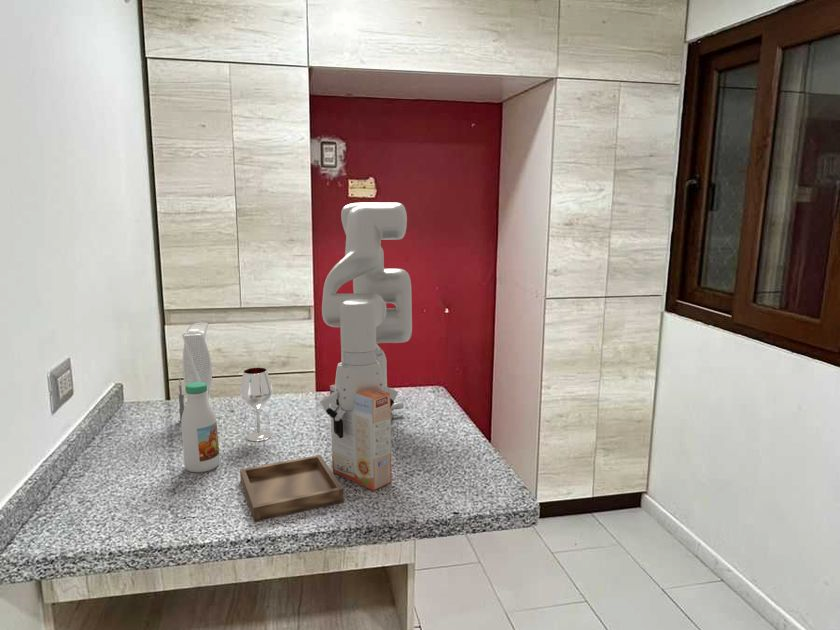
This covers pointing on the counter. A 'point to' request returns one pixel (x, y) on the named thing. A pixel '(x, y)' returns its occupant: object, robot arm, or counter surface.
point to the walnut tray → (290, 487)
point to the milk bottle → (199, 430)
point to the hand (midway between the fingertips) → (360, 432)
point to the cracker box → (364, 440)
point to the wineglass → (256, 396)
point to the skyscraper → (195, 362)
